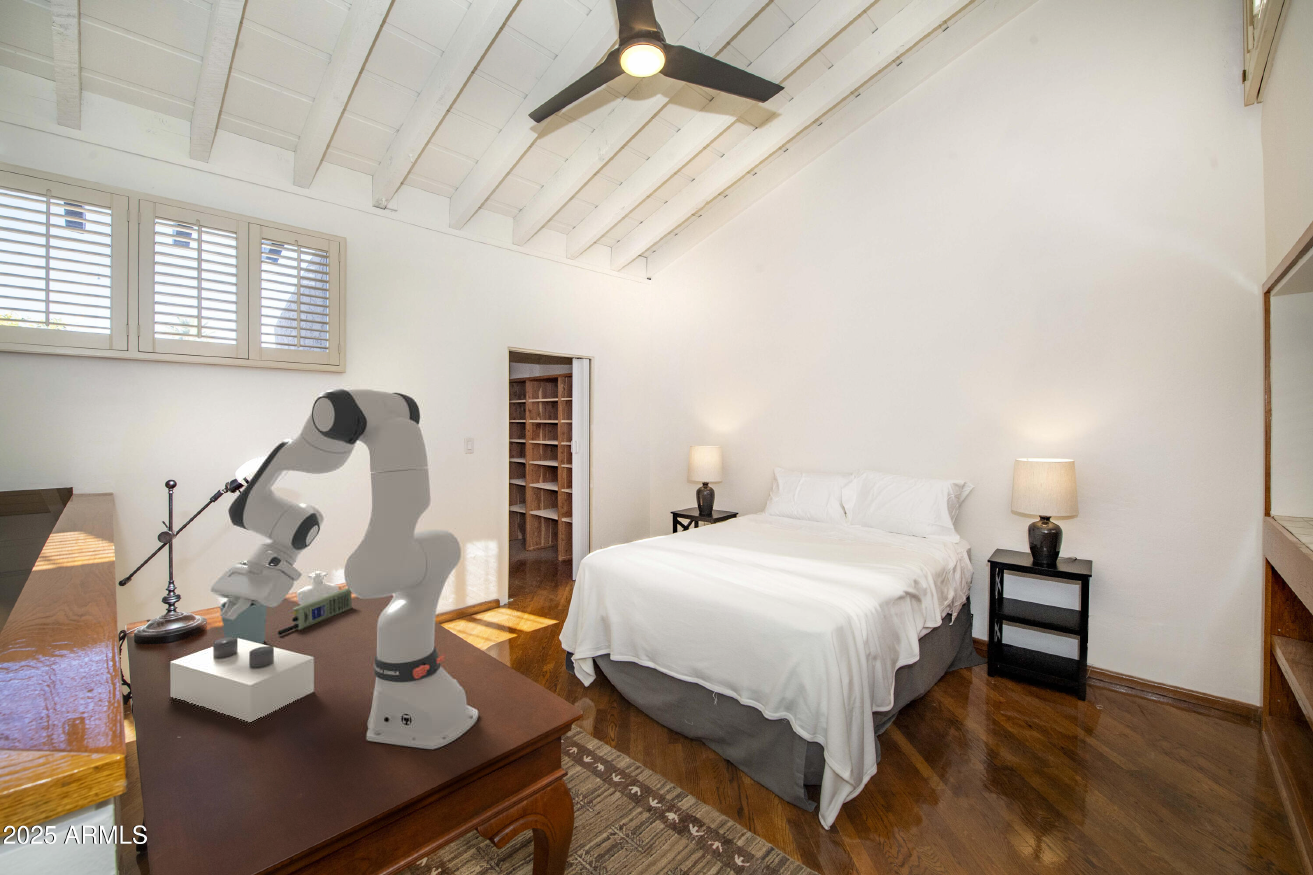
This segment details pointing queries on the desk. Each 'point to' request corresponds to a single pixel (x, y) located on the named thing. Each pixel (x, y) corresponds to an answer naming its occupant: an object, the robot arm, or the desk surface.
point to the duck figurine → (316, 588)
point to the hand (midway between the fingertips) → (226, 617)
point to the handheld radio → (320, 609)
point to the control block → (242, 681)
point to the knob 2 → (261, 657)
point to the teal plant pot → (247, 624)
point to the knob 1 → (225, 647)
